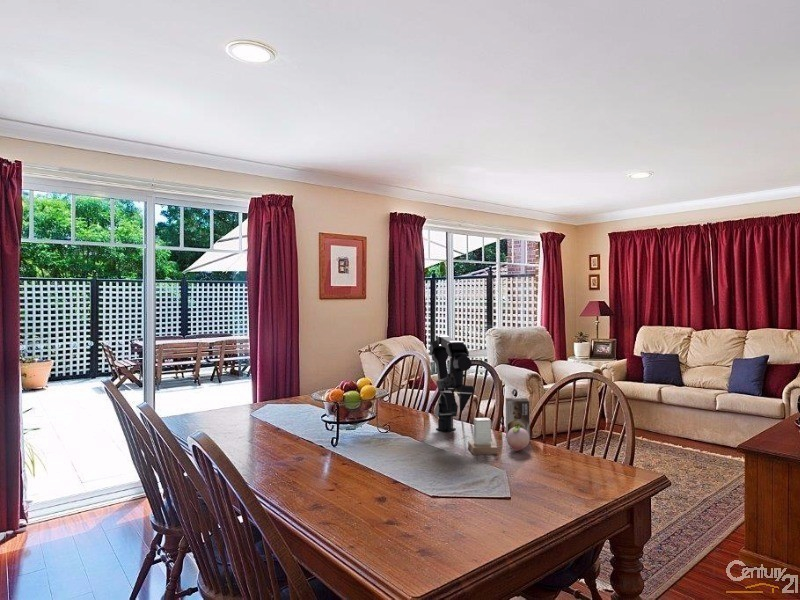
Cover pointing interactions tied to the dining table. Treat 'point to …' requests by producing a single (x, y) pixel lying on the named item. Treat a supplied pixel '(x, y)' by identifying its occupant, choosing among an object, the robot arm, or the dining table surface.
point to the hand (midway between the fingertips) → (455, 410)
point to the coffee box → (517, 414)
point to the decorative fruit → (518, 438)
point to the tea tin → (482, 431)
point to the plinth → (482, 448)
